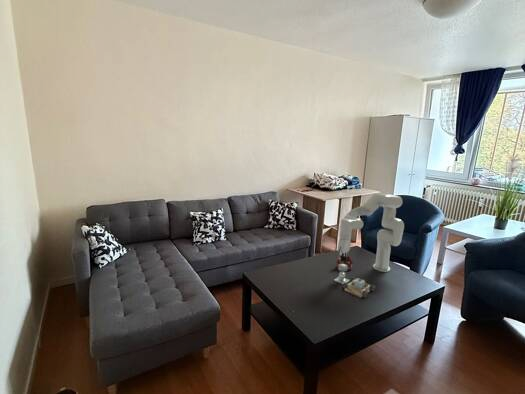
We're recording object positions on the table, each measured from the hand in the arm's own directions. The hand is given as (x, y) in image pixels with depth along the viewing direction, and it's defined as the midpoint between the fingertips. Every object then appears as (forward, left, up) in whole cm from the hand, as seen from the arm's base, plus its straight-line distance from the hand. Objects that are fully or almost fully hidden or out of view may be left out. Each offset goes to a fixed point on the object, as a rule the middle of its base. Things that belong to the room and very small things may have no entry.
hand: (343, 260), depth 195 cm
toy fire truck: (-19, -9, -16) cm, 26 cm away
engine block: (+2, +14, -14) cm, 20 cm away
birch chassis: (+2, +14, -15) cm, 21 cm away
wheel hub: (0, 0, -7) cm, 7 cm away
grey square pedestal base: (0, 0, -15) cm, 15 cm away
